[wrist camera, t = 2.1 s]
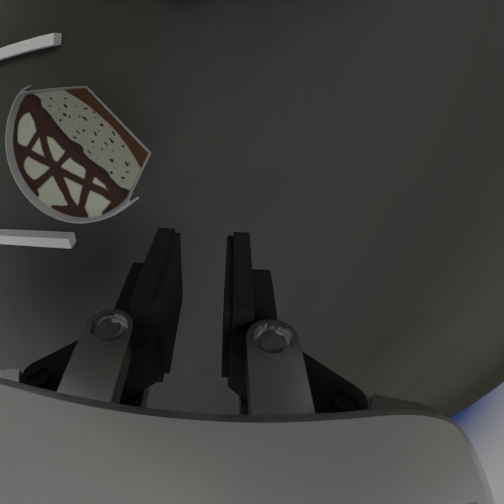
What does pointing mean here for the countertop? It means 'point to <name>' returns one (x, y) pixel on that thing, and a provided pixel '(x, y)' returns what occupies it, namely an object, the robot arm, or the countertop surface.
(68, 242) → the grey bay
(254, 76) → the countertop surface
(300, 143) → the countertop surface
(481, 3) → the countertop surface
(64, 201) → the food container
